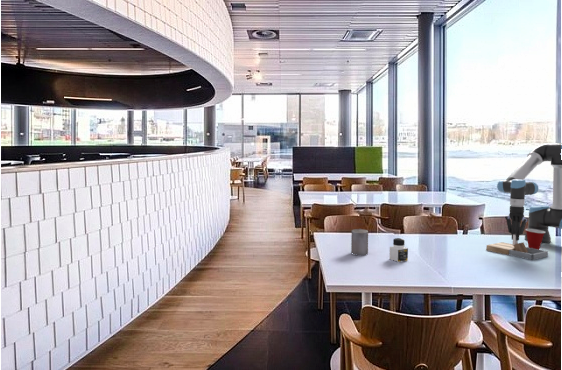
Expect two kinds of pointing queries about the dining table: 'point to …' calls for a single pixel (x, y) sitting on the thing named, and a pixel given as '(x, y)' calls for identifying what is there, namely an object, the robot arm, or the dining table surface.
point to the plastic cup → (534, 238)
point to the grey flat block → (534, 254)
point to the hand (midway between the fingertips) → (515, 245)
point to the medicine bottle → (398, 250)
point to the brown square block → (520, 247)
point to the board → (500, 248)
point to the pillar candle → (359, 242)
